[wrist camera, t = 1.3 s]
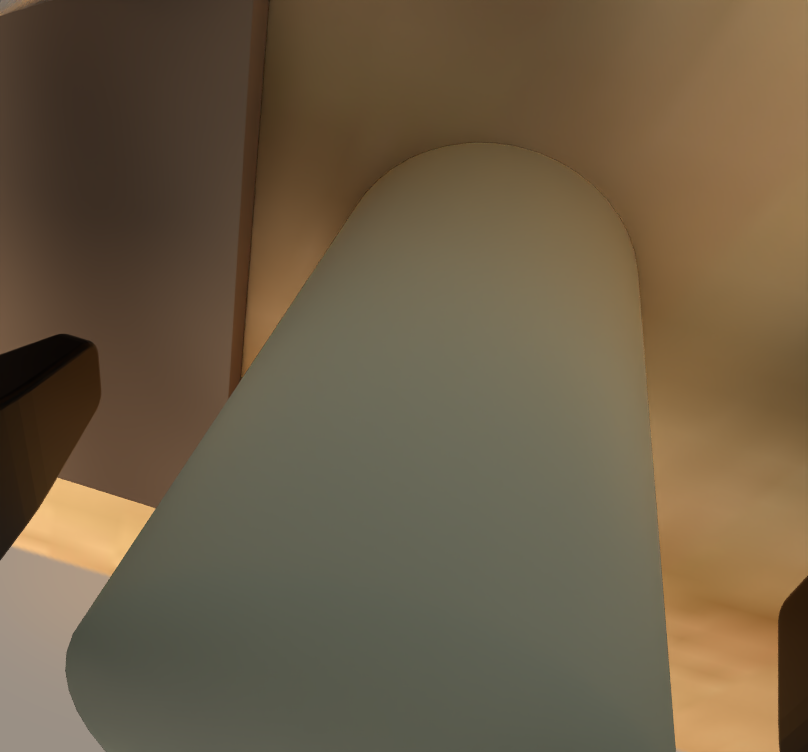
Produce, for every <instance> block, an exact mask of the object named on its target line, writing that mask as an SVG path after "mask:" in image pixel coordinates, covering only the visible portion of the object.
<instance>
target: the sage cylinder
mask: <svg viewBox="0 0 808 752" xmlns="http://www.w3.org/2000/svg"><path fill="white" fill-rule="evenodd" d="M65 671H66V677H67V682H68V688H69V692H70V694H71V697H72V700H73V702H74V705H75V707H76V710H77V712H78V713H79V715H80V717H81V718H82V720H83V722H84V723H85V725H86V727H87V728H88V730H89V731H90V733H91V734H92V735H93V736H94V738H95V739H96V740H97V741H98V743H99V744H100V745H101V746H102V748H103V749H104V750H105V751H106V752H676V748H675V735H674V723H673V710H672V697H671V684H670V672H669V659H668V646H667V633H666V621H665V608H664V595H663V582H662V570H661V557H660V544H659V531H658V519H657V506H656V493H655V480H654V468H653V455H652V442H651V429H650V417H649V404H648V391H647V378H646V366H645V353H644V340H643V327H642V315H641V302H640V289H639V276H638V268H637V262H636V256H635V252H634V249H633V246H632V243H631V240H630V237H629V234H628V232H627V230H626V228H625V227H624V225H623V223H622V221H621V219H620V217H619V216H618V214H617V213H616V211H615V210H614V209H613V207H612V206H611V204H610V203H609V201H608V200H607V199H606V198H605V197H604V196H603V195H602V194H601V193H600V192H599V191H598V190H597V189H596V188H595V187H594V186H593V185H592V184H591V183H590V182H588V181H587V180H586V179H585V178H583V177H582V176H581V175H580V174H578V173H577V172H576V171H574V170H572V169H571V168H569V167H567V166H565V165H564V164H562V163H560V162H559V161H557V160H554V159H552V158H550V157H547V156H545V155H543V154H540V153H538V152H535V151H531V150H528V149H524V148H521V147H517V146H512V145H505V144H498V143H464V144H456V145H448V146H445V147H441V148H437V149H433V150H429V151H427V152H424V153H422V154H419V155H417V156H414V157H412V158H410V159H408V160H406V161H405V162H403V163H401V164H399V165H398V166H396V167H394V168H393V169H391V170H390V171H389V172H388V173H386V174H385V175H384V176H382V177H381V178H380V179H379V180H377V181H376V183H375V184H374V185H373V186H372V187H371V188H370V189H369V190H368V191H367V192H366V193H365V194H364V196H363V197H362V199H361V200H360V202H359V203H358V204H357V206H356V207H355V209H354V210H353V212H352V213H351V215H350V216H349V218H348V219H347V221H346V222H345V224H344V225H343V227H342V228H341V230H340V231H339V233H338V234H337V236H336V237H335V239H334V240H333V242H332V243H331V245H330V246H329V248H328V249H327V251H326V253H325V254H324V256H323V257H322V259H321V260H320V262H319V263H318V265H317V266H316V268H315V269H314V271H313V272H312V274H311V275H310V277H309V278H308V280H307V281H306V283H305V284H304V286H303V287H302V289H301V290H300V292H299V293H298V295H297V296H296V298H295V299H294V301H293V302H292V304H291V305H290V307H289V308H288V310H287V311H286V313H285V314H284V316H283V317H282V319H281V320H280V322H279V323H278V325H277V327H276V328H275V330H274V331H273V333H272V334H271V336H270V337H269V339H268V340H267V342H266V343H265V345H264V346H263V348H262V349H261V351H260V352H259V354H258V355H257V357H256V358H255V360H254V361H253V363H252V364H251V366H250V367H249V369H248V370H247V372H246V373H245V375H244V376H243V378H242V379H241V381H240V382H239V384H238V385H237V387H236V388H235V390H234V391H233V393H232V394H231V396H230V397H229V399H228V400H227V402H226V404H225V405H224V407H223V408H222V410H221V411H220V413H219V414H218V416H217V417H216V419H215V420H214V422H213V423H212V425H211V426H210V428H209V429H208V431H207V432H206V434H205V435H204V437H203V438H202V440H201V441H200V443H199V444H198V446H197V447H196V449H195V450H194V452H193V453H192V455H191V456H190V458H189V459H188V461H187V462H186V464H185V465H184V467H183V468H182V470H181V471H180V473H179V474H178V476H177V478H176V479H175V481H174V482H173V484H172V485H171V487H170V488H169V490H168V491H167V493H166V494H165V496H164V497H163V499H162V500H161V502H160V503H159V505H158V506H157V508H156V509H155V511H154V512H153V514H152V515H151V517H150V518H149V520H148V521H147V523H146V524H145V526H144V527H143V529H142V530H141V532H140V533H139V535H138V536H137V538H136V539H135V541H134V542H133V544H132V545H131V547H130V548H129V550H128V552H127V553H126V555H125V556H124V558H123V559H122V561H121V562H120V564H119V565H118V567H117V568H116V570H115V571H114V573H113V574H112V576H111V577H110V579H109V580H108V582H107V584H106V585H105V586H104V588H103V589H102V591H101V593H100V594H99V595H98V597H97V598H96V600H95V602H94V603H93V605H92V606H91V608H90V609H89V610H88V612H87V614H86V615H85V616H84V618H83V619H82V621H81V623H80V624H79V625H78V627H77V629H76V630H75V632H74V633H73V635H72V638H71V641H70V644H69V647H68V650H67V655H66V670H65Z"/></svg>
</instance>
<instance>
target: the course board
mask: <svg viewBox="0 0 808 752" xmlns="http://www.w3.org/2000/svg"><path fill="white" fill-rule="evenodd" d="M268 5H269V0H50V1H47V2H44V3H40V4H37V5H34V6H31V7H27V8H24V9H21V10H18V11H15V12H11V13H8V14H5V15H2V16H0V354H3V353H5V352H8V351H11V350H14V349H17V348H20V347H22V346H25V345H28V344H31V343H34V342H37V341H40V340H42V339H45V338H48V337H51V336H54V335H57V334H69V335H73V336H76V337H79V338H83V339H86V340H89V341H91V342H93V343H94V344H95V345H96V347H97V349H98V355H99V367H100V379H101V400H100V403H99V406H98V408H97V410H96V412H95V414H94V416H93V417H92V419H91V421H90V423H89V424H88V426H87V428H86V429H85V431H84V433H83V435H82V436H81V438H80V440H79V441H78V443H77V445H76V447H75V448H74V450H73V452H72V453H71V455H70V457H69V458H68V460H67V462H66V464H65V465H64V467H63V469H62V470H61V472H60V474H59V476H58V478H61V479H64V480H67V481H71V482H74V483H77V484H80V485H83V486H87V487H90V488H93V489H96V490H99V491H103V492H106V493H109V494H112V495H115V496H119V497H122V498H125V499H128V500H131V501H135V502H138V503H141V504H144V505H147V506H151V507H154V508H157V506H158V505H159V503H160V502H161V500H162V499H163V497H164V496H165V494H166V493H167V491H168V490H169V488H170V487H171V485H172V484H173V482H174V481H175V479H176V478H177V476H178V474H179V473H180V471H181V470H182V468H183V467H184V465H185V464H186V462H187V461H188V459H189V458H190V456H191V455H192V453H193V452H194V450H195V449H196V447H197V446H198V444H199V443H200V441H201V440H202V438H203V437H204V435H205V434H206V432H207V431H208V429H209V428H210V426H211V425H212V423H213V422H214V420H215V419H216V417H217V416H218V414H219V413H220V411H221V410H222V408H223V407H224V405H225V404H226V402H227V400H228V399H229V397H230V396H231V394H232V393H233V391H234V390H235V388H236V387H237V385H238V384H239V382H240V379H241V366H242V352H243V339H244V326H245V312H246V299H247V286H248V272H249V259H250V246H251V232H252V219H253V205H254V192H255V179H256V165H257V152H258V139H259V125H260V112H261V99H262V85H263V72H264V59H265V45H266V32H267V19H268Z"/></svg>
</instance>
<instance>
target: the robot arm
mask: <svg viewBox="0 0 808 752" xmlns="http://www.w3.org/2000/svg"><path fill="white" fill-rule="evenodd" d="M100 400H101V379H100V367H99V355H98V349H97V347H96V345H95V344H94V343H93V342H91V341H89V340H86V339H83V338H79V337H76V336H73V335H69V334H57V335H54V336H51V337H48V338H45V339H42V340H40V341H37V342H34V343H31V344H28V345H25V346H22V347H20V348H17V349H14V350H11V351H8V352H5V353H3V354H0V560H1V559H2V558H3V556H4V555H5V554H6V552H7V551H8V550H9V548H10V547H11V546H12V544H13V543H14V542H15V540H16V539H17V538H18V536H19V535H20V534H21V532H22V531H23V530H24V528H25V527H26V526H27V524H28V523H29V521H30V520H31V518H32V517H33V516H34V514H35V513H36V511H37V510H38V509H39V507H40V505H41V504H42V502H43V501H44V499H45V497H46V496H47V494H48V493H49V491H50V489H51V487H52V486H53V484H54V482H55V481H56V479H57V477H58V476H59V474H60V472H61V470H62V469H63V467H64V465H65V464H66V462H67V460H68V458H69V457H70V455H71V453H72V452H73V450H74V448H75V447H76V445H77V443H78V441H79V440H80V438H81V436H82V435H83V433H84V431H85V429H86V428H87V426H88V424H89V423H90V421H91V419H92V417H93V416H94V414H95V412H96V410H97V408H98V406H99V403H100ZM778 728H779V748H780V752H808V576H807V577H806V578H805V579H804V580H803V581H802V582H801V583H800V585H799V586H798V587H797V588H796V589H795V590H794V591H793V592H792V593H791V594H790V595H789V597H788V598H787V599H786V600H785V601H784V603H783V605H782V607H781V610H780V613H779V619H778Z"/></svg>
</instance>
